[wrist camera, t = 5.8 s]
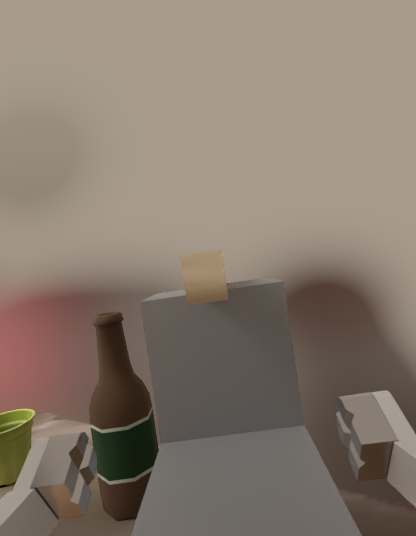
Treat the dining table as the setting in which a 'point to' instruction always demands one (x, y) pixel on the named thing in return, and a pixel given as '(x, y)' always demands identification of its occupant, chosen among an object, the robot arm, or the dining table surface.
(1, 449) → the plant pot
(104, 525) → the dining table surface
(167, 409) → the stand
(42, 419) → the dining table surface
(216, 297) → the stick
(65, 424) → the dining table surface
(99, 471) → the beer bottle
